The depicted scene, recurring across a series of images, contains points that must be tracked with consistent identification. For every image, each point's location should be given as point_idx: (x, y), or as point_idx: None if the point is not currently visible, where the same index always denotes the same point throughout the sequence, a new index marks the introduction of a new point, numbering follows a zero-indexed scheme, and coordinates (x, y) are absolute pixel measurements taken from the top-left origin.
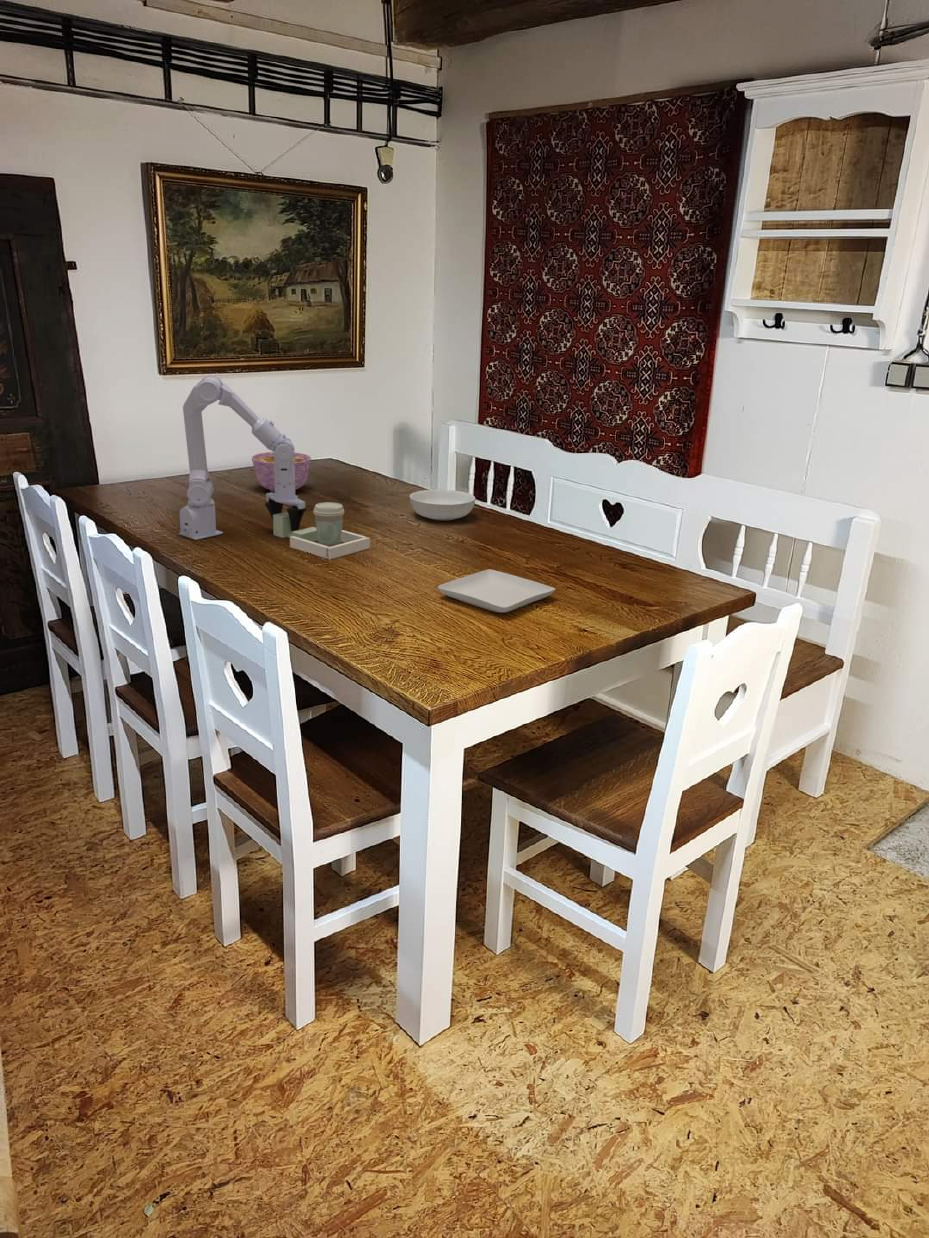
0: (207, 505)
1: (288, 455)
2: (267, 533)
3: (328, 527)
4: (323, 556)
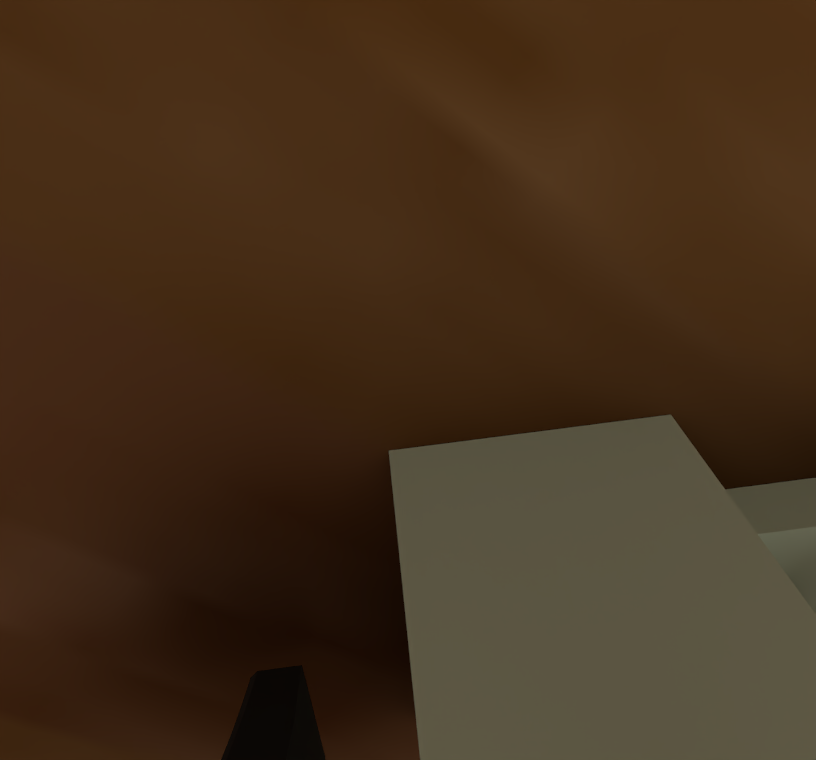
0: None
1: None
2: None
3: None
4: None
